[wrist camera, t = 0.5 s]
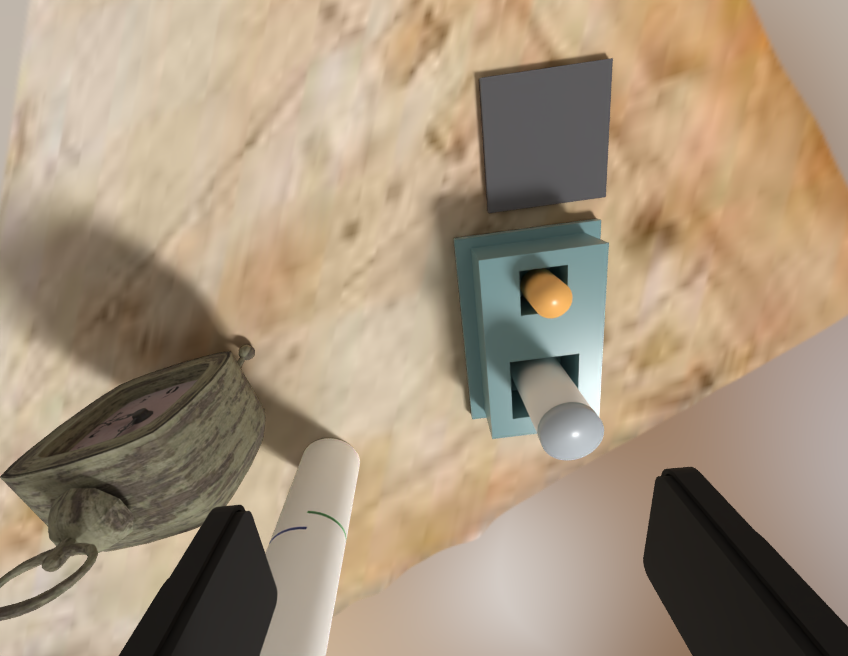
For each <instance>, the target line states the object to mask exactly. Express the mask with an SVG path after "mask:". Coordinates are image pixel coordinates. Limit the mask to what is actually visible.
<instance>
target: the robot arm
mask: <svg viewBox="0 0 848 656" xmlns="http://www.w3.org/2000/svg"><path fill="white" fill-rule="evenodd" d="M643 563H644V568H645V571H646V574H647V576H648V578H649V580H650V582H651V583H652V585H653V587H654V589H655V590H656V592H657V594H658V595H659V597H660V599H661V601H662V603H663V604H664V606H665V608H666V610H667V611H668V613H669V615H670V616H671V619H672V620H673V622H674V624H675V625H676V627H677V629H678V631H679V633H680V634H681V636H682V638H683V640H684V641H685V643H686V645H687V647H688V648H689V650H690V652H691V654H692V655H693V656H848V626H847V625H846V624H845V623H844V622H843V621H842V620H841V619H840V618H839V617H838V616H837V615H836V614H835V613H834V612H833V610H832V609H831V608H830V607H829V606H828V605H827V604H826V603H825V602H824V601H823V600H822V599H821V598H820V597H819V596H818V595H817V594H816V593H815V591H814V590H812V588H811V587H810V586H809V585H808V584H807V583H806V582H805V581H804V580H803V579H802V578H801V577H800V576H799V575H798V574H797V572H795V570H794V569H793V568H792V567H791V566H790V565H789V564H788V563H787V562H786V561H785V560H784V559H783V558H782V557H781V556H780V555H779V553H778V552H777V551H776V550H775V549H774V548H773V547H772V546H771V545H770V544H769V543H768V542H767V541H766V540H765V539H764V538H763V537H762V536H761V535H760V534H758V533H757V532H756V531H755V530H754V529H753V528H752V527H751V526H750V525H749V524H748V523H747V522H746V521H745V520H744V519H743V518H742V517H741V515H739V514H738V512H737V511H736V510H735V509H734V508H733V507H732V506H731V505H730V504H729V503H728V502H727V500H726V499H725V498H724V497H723V496H722V495H721V494H720V493H719V492H718V491H717V490H716V489H715V488H714V487H713V486H712V485H711V484H710V482H709V481H708V480H707V479H706V478H705V477H704V476H703V475H702V474H701V473H700V472H699V471H698V470H697V469H695V468H693V467H683V468H671V469H664V471H663V472H662V475H661V476H658V477H657V478H656V480H655V486H654V492H653V499H652V506H651V512H650V519H649V526H648V531H647V538H646V544H645V551H644V557H643ZM277 595H278V594H277V587H276V584H275V581H274V578H273V575H272V572H271V569H270V566H269V563H268V560H267V557H266V554H265V551H264V548H263V546H262V543H261V540H260V537H259V534H258V531H257V528H256V525H255V522H254V519H253V516H252V514H251V512H250V511H245V509H244V507H243V506H242V505H233V506H221V507H215V508H213V509H212V510H211V512H210V513H209V514H208V516H207V518H206V519H205V521H204V522H203V524H202V526H201V527H200V529H199V531H198V532H197V534H196V535H195V537H194V539H193V540H192V542H191V544H190V545H189V547H188V548H187V550H186V552H185V553H184V555H183V557H182V558H181V560H180V561H179V563H178V565H177V566H176V568H175V569H174V571H173V573H172V574H171V576H170V578H168V579H167V580H166V582H165V583H164V584H163V586H162V587H161V589H160V590H159V592H158V593H157V595H156V597H155V598H154V600H153V601H152V603H151V605H150V606H149V608H148V609H147V611H146V613H145V614H144V616H143V617H142V619H141V621H140V622H139V624H138V626H137V627H136V629H135V630H134V632H133V634H132V635H131V637H130V638H129V640H128V642H127V643H126V645H125V646H124V648H123V650H122V651H121V653H120V654H119V656H260V653H261V650H262V647H263V644H264V641H265V638H266V635H267V632H268V629H269V626H270V623H271V619H272V616H273V613H274V610H275V607H276V603H277Z"/></svg>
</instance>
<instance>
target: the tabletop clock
mask: <svg viewBox="0 0 848 656" xmlns="http://www.w3.org/2000/svg"><path fill="white" fill-rule="evenodd" d="M254 355H255V350H254V348H253V347H252V346H250V345H244V346H242V347H241V348H240V349H239V356H240V358H239V360H238V361H236V360H235V358H234V356H233V354H232V352H231V351H229V352H221V353H216V354H212V355H208V356H205V357H201V358H197V359H194V360H190V361H187V362H183V363H180V364H177V365H174V366H171V367H168V368H165V369H162V370H158V371H155V372H152V373H149V374H147V375H144V376H141V377H138V378H136V379H133V380H131V381H128V382H126V383H124V384H121V385H119V386H118V387H116V388H114V389H113V390H111V391H109V392H108V393H106V394H104V395H103V396H101V397H100V398H98V399H97V400H95V401H94V402H92V403H91V404H89V405H88V406H87V407H85V408H84V409H82V410H81V411H80V412H78V413H77V414H75V415H74V416H73V417H71V418H70V419H69V420H67V421H66V422H64V423H63V424H62V425H60V426H59V427H57V428H56V429H55V430H54V431H52V432H51V433H50V434H49V435H47V436H46V437H45V438H44V439H42V440H41V441H40V442H38V443H37V444H36V445H35V446H33V447H32V448H31V449H30V450H28V451H27V452H26V453H25V454H24V455H22V456H21V457H20V458H19V459H18V460H17V461H15V462H14V463H13V464H12V465H11V466H10V467H9V468H8V469H7V470H6V471H5V472H4V473H3V474H2V475H1V476H0V478H1V479H2V480H3V481H4V482H5V483H6V484H7V485H8V486H9V487H10V488H11V489H12V490H13V491H14V492H15V493H16V494H17V495H18V496H19V497H20V498H21V499H22V500H23V501H24V502H25V503H26V504H27V505H28V506H29V507H30V508H31V509H32V510H33V512H34V513H35V514H36V515H37V516H38V517H39V518H40V519H41V520H42V521H43V522H44V523H45V524H46V525H47V526H48V533H49V538H50V540H51V541H52V542H53V543H54V544H55V545H56V547H55V548H53V549H51V550H48V551H46V552H43V553H41V554H39V555H37V556H35V557H33V558H31V559H29V560H27V561H25V562H23V563H21V564H20V565H18V566H17V567H15V568H14V569H12V570H11V571H9V572H8V573H7V574H5V575H4V576H3V577H1V578H0V588H1V587H2V586H3V585H4V584H5V583H7V582H8V581H9V580H11V579H12V578H14V577H16V576H18V575H20V574H22V573H24V572H25V571H28V570H30V569H32V568H34V567H37V566H39V565H41V564H42V568H43V569H44V570H45V571H48V572H54V571H56V570H58V569H59V568H60V567H61V566H62V565H63V564H64V563H65V562H66V561H67V559H68V558H69V557H70V556H74V555H87V556H88V558H87V560H86V561H85V563H84V564H83V565H82V566H81V567H80V568H79V569H78V570H77V571H76V572H75V573H73V574H72V575H71V576H69V577H68V578H67V579H65V580H64V581H62V582H61V583H59V584H57V585H56V586H54V587H53V588H51V589H50V590H48V591H46V592H44V593H42V594H40V595H38V596H36V597H33V598H31V599H28V600H25V601H22V602H19V603H16V604H12V605H8V606H4V607H0V621H2V620H6V619H11V618H15V617H18V616H21V615H23V614H26V613H29V612H31V611H34V610H36V609H38V608H40V607H41V606H43V605H45V604H47V603H49V602H50V601H52V600H54V599H55V598H57V597H58V596H60V595H61V594H62V593H64V592H65V591H67V590H68V589H69V588H71V587H72V586H73V585H74V584H75V583H76V582H77V581H79V580H80V579H81V578H82V577H83V576H84V575H85V574H86V573H87V572H88V570H89V569H90V568H91V567H92V566H93V564H94V563H95V561H96V558H97V556H98V553H100V552H102V551H106V552H107V551H114V550H119V549H123V548H128V547H133V546H137V545H142V544H147V543H151V542H154V541H157V540H161V539H164V538H167V537H170V536H174V535H177V534H180V533H184V532H187V531H190V530H193V529H195V528H198V527H200V526H202V524H203V522H204V521H205V519H206V518H207V516H208V514H209V513H210V512H211V510H212V509H213V508H215V507H221V506H226V505H227V504H228V502H229V501H230V499H231V498H232V497H233V495H234V494H235V492H236V490H237V489H238V487H239V485H240V484H241V482H242V480H243V479H244V477H245V475H246V473H247V472H248V470H249V468H250V467H251V465H252V463H253V460H254V458H255V456H256V454H257V452H258V450H259V448H260V446H261V443H262V440H263V437H264V427H265V410H264V409H263V407H262V405H261V403H260V402H259V400H258V398H257V396H256V395H255V393H254V391H253V389H252V388H251V386H250V384H249V382H248V381H247V379H246V377H245V375H244V374H243V372H242V370H241V367H242V365H243V363H244V361H245V360H250V359H251V358H253V357H254Z"/></svg>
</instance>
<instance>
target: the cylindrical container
mask: <svg viewBox="0 0 848 656" xmlns="http://www.w3.org/2000/svg"><path fill="white" fill-rule="evenodd" d="M359 465H360V458H359V455H358V453H357V452H356V450H355V449H354V448H353V447H352V446H351V445H349V444H348V443H346V442H344V441H342V440H338V439H333V438H325V439H320V440H317V441H315V442H313V443H311V444H310V445H309V446H308V447H307V448H306V449H305V451H304V453H303V456H302V458H301V461H300V464H299V466H298V469H297V472H296V474H295V477H294V479H293V482H292V485H291V487H290V490H289V493H288V495H287V498H286V501H285V503H284V506H283V509H282V511H281V514H280V517H279V519H278V522H277V525H276V527H275V530H274V533H273V535H272V538H271V541H270V543H269V546H268V548H267V551H266V557H267V560H268V563H269V566H270V569H271V572H272V575H273V578H274V581H275V584H276V587H277V594H278V595H277V603H276V607H275V610H274V613H273V616H272V619H271V623H270V626H269V629H268V632H267V635H266V638H265V641H264V644H263V647H262V650H261V653H260V656H325V655H326V650H327V645H328V639H329V634H330V627H331V622H332V617H333V611H334V606H335V600H336V594H337V589H338V583H339V578H340V572H341V566H342V561H343V555H344V550H345V544H346V539H347V533H348V528H349V522H350V516H351V511H352V505H353V499H354V494H355V488H356V483H357V477H358V471H359Z"/></svg>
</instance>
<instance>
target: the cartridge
mask: <svg viewBox="0 0 848 656" xmlns="http://www.w3.org/2000/svg"><path fill="white" fill-rule="evenodd" d="M510 374H511V376H512V378H513V380H514V383H515V385H516V387H517V389H518V392H519V394H520V396H521V398H522V401H523V403H524V405H525V407H526V409H527V412H528V414H529V416H530V418H531V421H532V423H533V425H534V427H535V429H536V432H537V434H538V438H539V440H540V442H541V444H542V447H543V449H544V450H545V451H546V452H547V454H549V455H550V456H552V457H554V458H556V459H560V460H575V459H579V458H582V457H584V456H586V455H588V454H590V453H591V452H592V451H594V450H595V449H596V448H597V447H598V445H599V444H600V442H601V441H602V438H603V435H604V426H603V423H602V421H601V419H600V418H599V417H598V415H597V414H596V412H595V411H594V410H593V409H592V408H591V406H590V405H589V404H588V402H587V401H586V399H585V398H584V397H583V395H582V394H581V392H580V391H579V390H578V388H577V387H576V385H575V384H574V383H573V381H572V380H571V378H570V377H569V376H568V374H567V373H566V371H565V370H564V369H563V367H562V366H561V364H560V363H559V362H558V360H557V359H556V357H548V358H540V359H532V360H524V361H516V362H510Z"/></svg>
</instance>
